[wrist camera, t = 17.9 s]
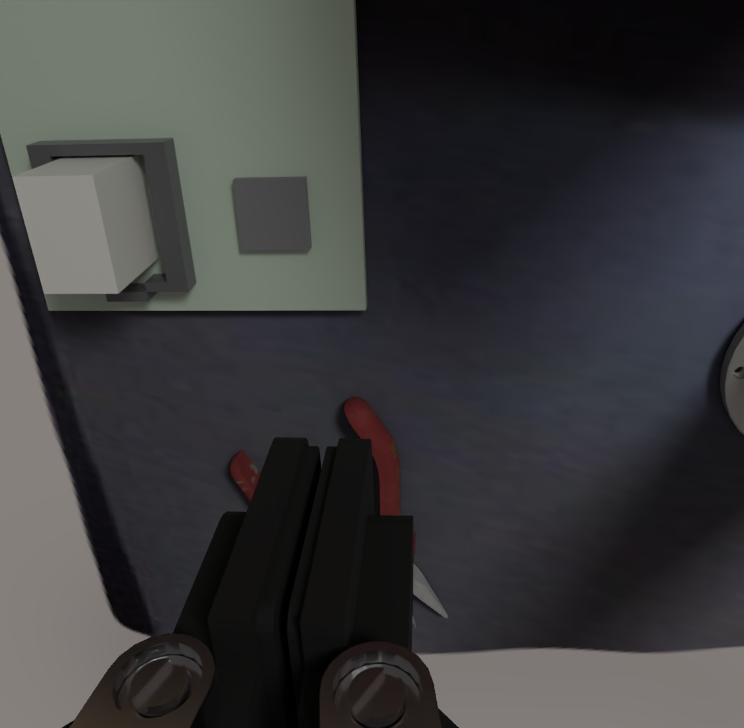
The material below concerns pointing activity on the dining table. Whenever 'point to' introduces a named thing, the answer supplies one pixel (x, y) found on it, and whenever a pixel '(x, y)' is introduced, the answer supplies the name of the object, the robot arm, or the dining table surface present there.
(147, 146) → the frame
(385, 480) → the pliers
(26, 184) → the plug
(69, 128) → the board
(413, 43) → the dining table surface
